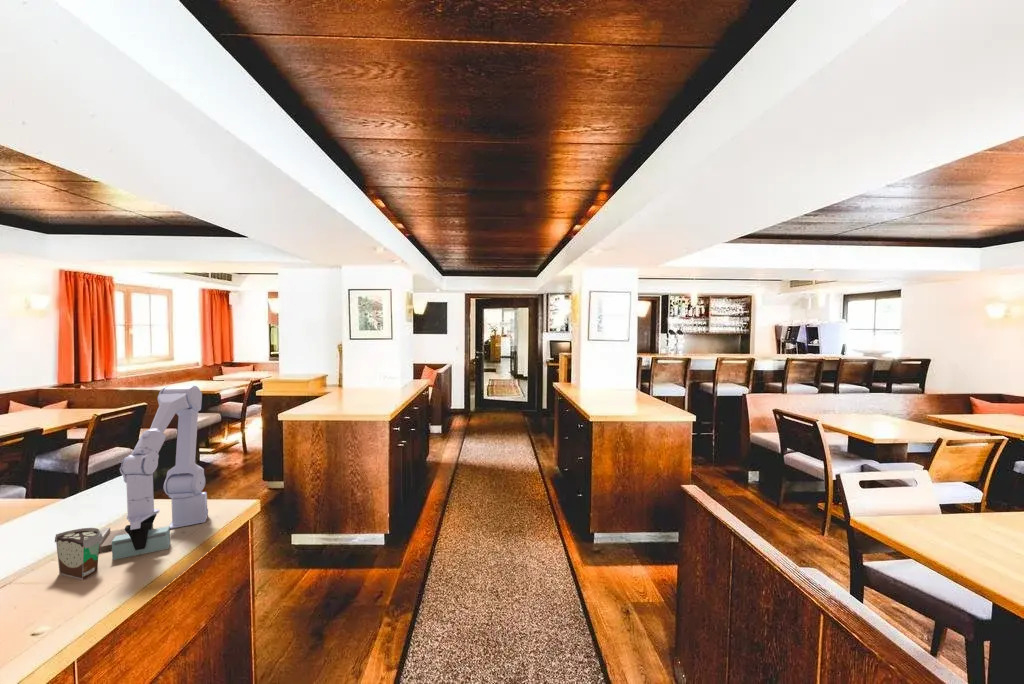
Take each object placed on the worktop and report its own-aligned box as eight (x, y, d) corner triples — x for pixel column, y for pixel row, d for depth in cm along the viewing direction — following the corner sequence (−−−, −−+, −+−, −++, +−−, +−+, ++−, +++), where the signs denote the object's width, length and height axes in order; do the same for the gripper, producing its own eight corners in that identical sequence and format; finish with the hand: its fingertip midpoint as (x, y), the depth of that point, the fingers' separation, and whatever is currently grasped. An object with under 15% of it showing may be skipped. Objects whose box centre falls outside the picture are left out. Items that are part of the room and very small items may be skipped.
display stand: (153, 528, 142) (152, 518, 142) (144, 543, 131) (144, 533, 131) (98, 538, 135) (98, 528, 135) (85, 554, 125) (84, 544, 125)
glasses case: (170, 543, 131) (169, 526, 131) (167, 549, 127) (167, 531, 127) (116, 553, 125) (115, 535, 125) (112, 560, 121) (111, 541, 121)
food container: (115, 568, 117) (114, 530, 117) (86, 580, 111) (85, 540, 111) (85, 561, 121) (83, 524, 121) (55, 573, 115) (54, 534, 115)
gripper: (153, 502, 122) (155, 552, 122) (163, 487, 134) (164, 532, 134) (119, 507, 118) (121, 559, 118) (132, 491, 131) (134, 538, 131)
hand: (142, 545), depth 126 cm, fingers closed on glasses case, 4 cm apart
